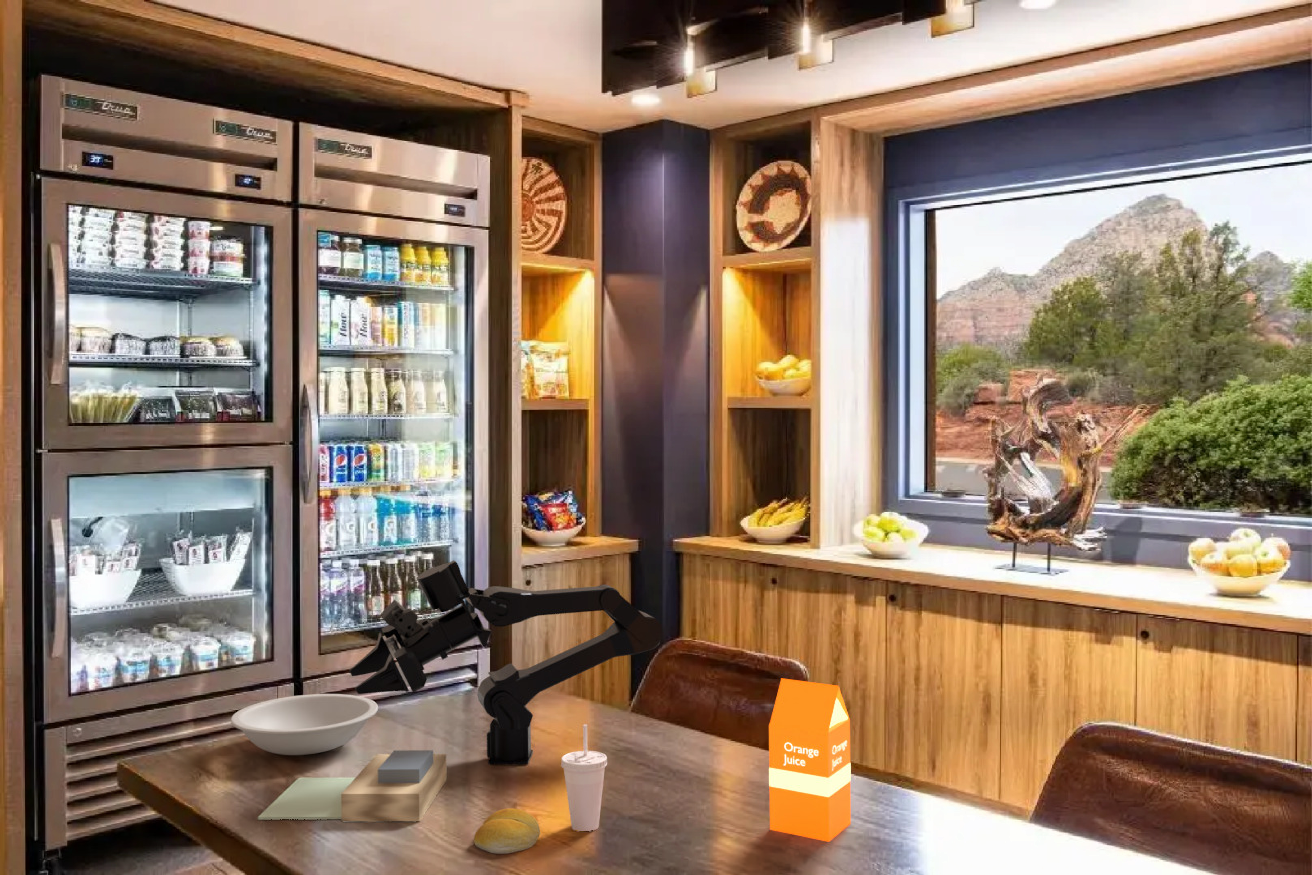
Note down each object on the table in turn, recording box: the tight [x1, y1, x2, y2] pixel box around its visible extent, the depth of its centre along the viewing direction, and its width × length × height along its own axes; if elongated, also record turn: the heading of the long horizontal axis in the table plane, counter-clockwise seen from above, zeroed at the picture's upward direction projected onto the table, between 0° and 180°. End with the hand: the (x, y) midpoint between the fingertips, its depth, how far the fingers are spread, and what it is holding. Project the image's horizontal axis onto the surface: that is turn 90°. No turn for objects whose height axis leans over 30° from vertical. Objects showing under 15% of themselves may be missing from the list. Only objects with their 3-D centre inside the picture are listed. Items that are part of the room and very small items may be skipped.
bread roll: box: [473, 807, 541, 855], centre depth 153 cm, size 8×9×4 cm
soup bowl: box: [230, 693, 379, 756], centre depth 195 cm, size 24×24×7 cm
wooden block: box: [341, 753, 448, 823], centre depth 170 cm, size 11×18×4 cm, turn 178°
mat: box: [257, 776, 357, 821], centre depth 171 cm, size 12×17×1 cm
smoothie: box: [560, 724, 608, 832], centre depth 158 cm, size 6×6×14 cm
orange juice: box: [768, 678, 852, 842], centre depth 157 cm, size 8×9×20 cm
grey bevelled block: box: [378, 749, 434, 783], centre depth 170 cm, size 6×9×2 cm, turn 178°
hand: (353, 681), depth 180 cm, fingers open, 9 cm apart
